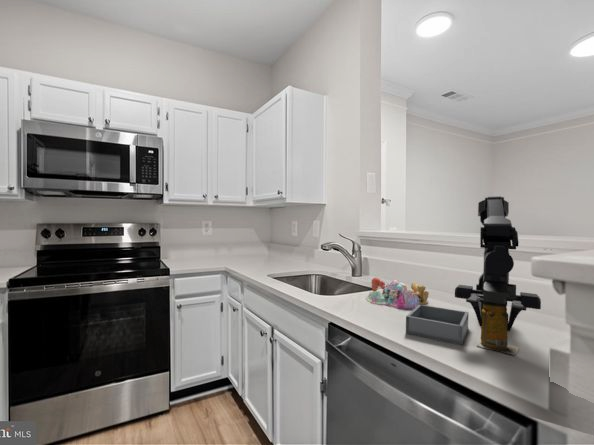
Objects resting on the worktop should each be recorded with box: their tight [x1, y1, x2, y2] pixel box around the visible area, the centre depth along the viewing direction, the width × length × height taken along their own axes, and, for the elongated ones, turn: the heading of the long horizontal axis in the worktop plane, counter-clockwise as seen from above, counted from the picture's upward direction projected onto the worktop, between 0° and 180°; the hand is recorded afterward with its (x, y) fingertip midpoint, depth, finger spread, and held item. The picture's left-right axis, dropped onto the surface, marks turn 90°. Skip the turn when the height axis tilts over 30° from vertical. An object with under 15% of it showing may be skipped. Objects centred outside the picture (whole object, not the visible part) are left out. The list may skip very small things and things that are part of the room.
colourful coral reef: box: [365, 277, 430, 310], centre depth 128 cm, size 25×24×9 cm
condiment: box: [475, 301, 520, 356], centre depth 82 cm, size 7×8×12 cm
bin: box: [405, 304, 469, 346], centre depth 94 cm, size 17×15×5 cm
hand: (494, 328), depth 82 cm, fingers closed on condiment, 6 cm apart
